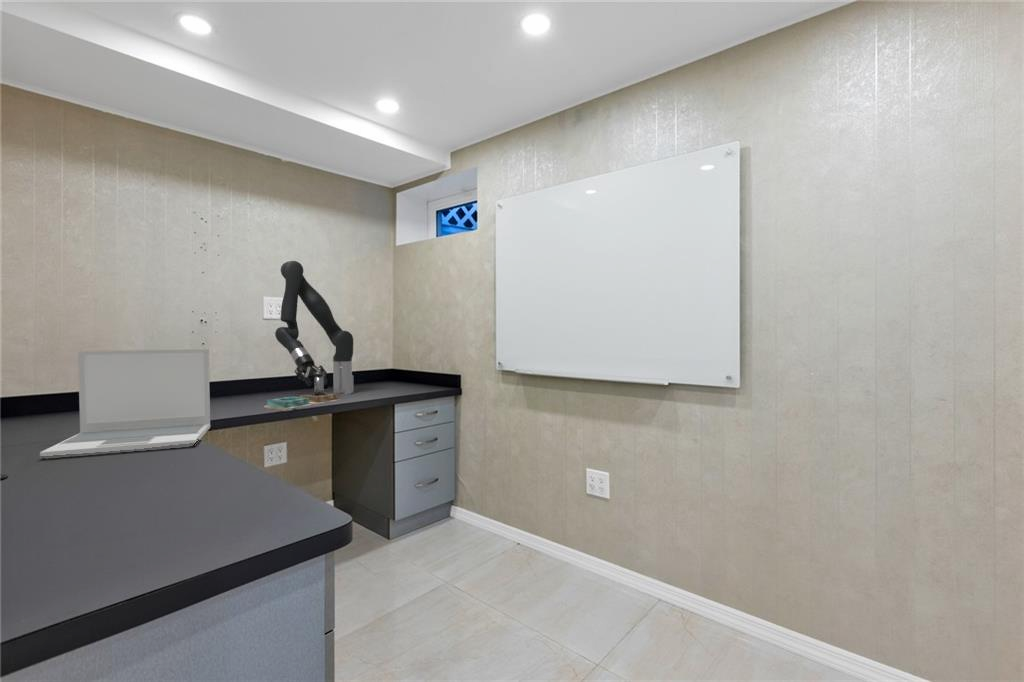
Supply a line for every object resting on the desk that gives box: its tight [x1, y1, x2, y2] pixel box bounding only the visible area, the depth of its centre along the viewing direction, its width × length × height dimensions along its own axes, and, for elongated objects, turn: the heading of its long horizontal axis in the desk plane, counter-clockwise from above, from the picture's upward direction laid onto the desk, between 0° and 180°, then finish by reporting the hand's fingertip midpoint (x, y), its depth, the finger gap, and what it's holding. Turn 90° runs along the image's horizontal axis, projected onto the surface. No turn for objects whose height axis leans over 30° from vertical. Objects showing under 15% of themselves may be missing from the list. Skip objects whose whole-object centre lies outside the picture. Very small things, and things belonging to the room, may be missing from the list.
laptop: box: [39, 348, 212, 457], centre depth 145 cm, size 35×26×28 cm
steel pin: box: [313, 372, 325, 396], centre depth 224 cm, size 5×5×13 cm
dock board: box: [263, 392, 342, 412], centre depth 217 cm, size 29×15×4 cm, turn 150°
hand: (318, 384), depth 224 cm, fingers open, 8 cm apart
